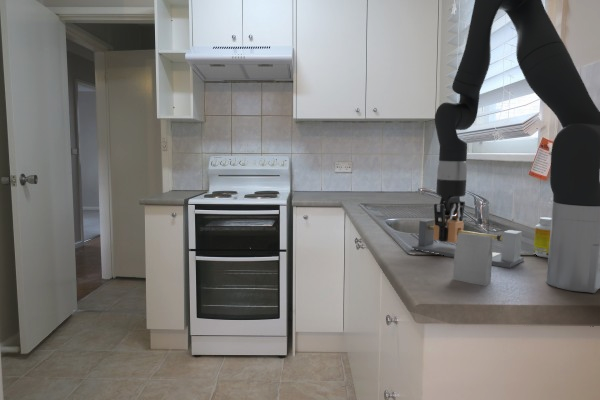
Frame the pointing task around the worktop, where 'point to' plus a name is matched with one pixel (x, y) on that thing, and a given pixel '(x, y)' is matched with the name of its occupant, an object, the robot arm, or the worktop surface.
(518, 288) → the worktop surface
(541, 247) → the supplement bottle
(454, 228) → the sleeve
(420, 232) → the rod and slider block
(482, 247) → the grey tapered slab
